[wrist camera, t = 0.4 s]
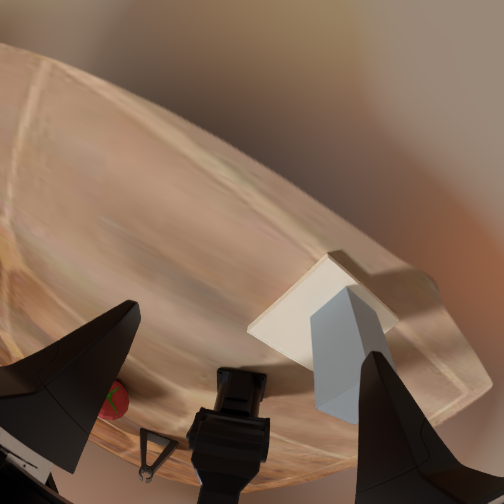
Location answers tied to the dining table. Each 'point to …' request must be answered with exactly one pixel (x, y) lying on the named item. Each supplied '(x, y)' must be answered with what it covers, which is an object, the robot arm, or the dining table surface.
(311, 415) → the dining table surface
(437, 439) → the robot arm
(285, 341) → the tile
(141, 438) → the phone stand
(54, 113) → the dining table surface
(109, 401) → the tomato
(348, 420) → the slate-blue block
